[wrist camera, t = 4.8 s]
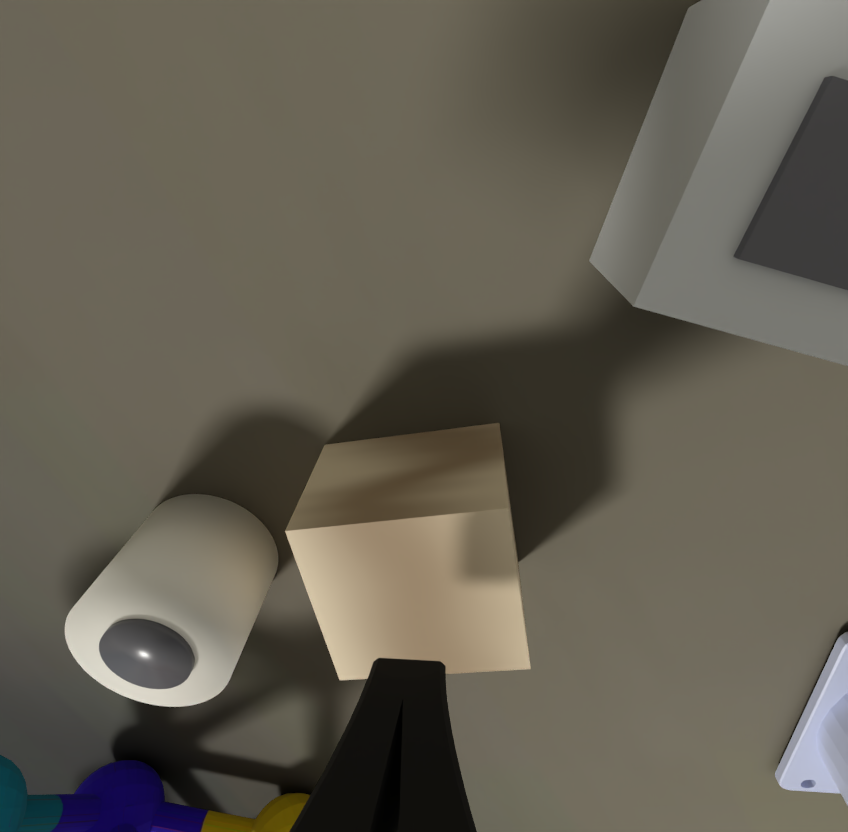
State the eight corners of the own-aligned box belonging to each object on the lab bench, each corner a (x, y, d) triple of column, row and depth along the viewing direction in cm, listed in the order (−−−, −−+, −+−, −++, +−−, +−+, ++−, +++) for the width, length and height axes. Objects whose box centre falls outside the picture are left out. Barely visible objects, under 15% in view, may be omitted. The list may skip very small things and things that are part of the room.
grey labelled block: (920, 81, 11) (1148, 55, 7) (784, 314, 13) (907, 385, 10) (686, 9, 11) (801, -57, 7) (587, 259, 13) (636, 309, 9)
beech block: (499, 420, 15) (508, 508, 12) (518, 559, 17) (530, 668, 14) (325, 442, 16) (285, 531, 12) (364, 573, 18) (339, 680, 15)
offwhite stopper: (268, 495, 17) (212, 598, 13) (286, 601, 19) (242, 717, 15) (129, 491, 17) (35, 591, 13) (162, 596, 19) (88, 708, 15)
